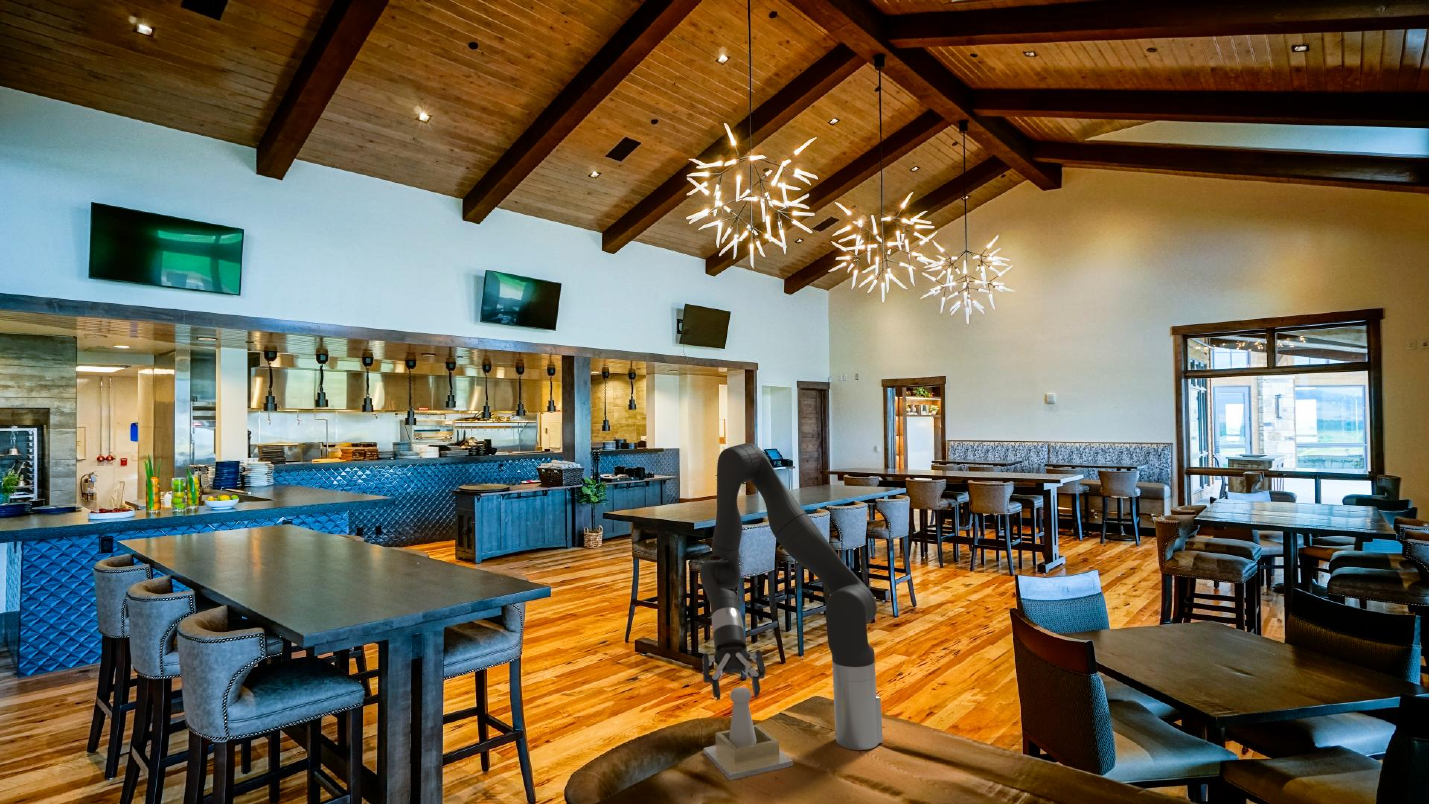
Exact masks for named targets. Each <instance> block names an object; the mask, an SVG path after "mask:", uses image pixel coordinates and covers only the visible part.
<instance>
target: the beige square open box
mask: <svg viewBox="0 0 1429 804" xmlns="http://www.w3.org/2000/svg"><path fill="white" fill-rule="evenodd" d="M753 727H754V731H755V736H756V744H753V745H748V746H743V747H738V748H736V747H735V746H734V745H733V744H732V743H731V742H730V741H729V734H730V729H728V730H723V731H718V732H715V734H714V735H715V745H712V746H707V747H704V748H703V753H704V752H705V753H704V754H706V755H707V756H706V755H705V756H706V757H707V758H708V759H709V760H710V761H711V762H712V763H713V764H714V765H715V766H716V767H717V769H718V770H719V771H720V772H722V774H723V775H724V776H725V777H726V779H728V780H729V781H734V780H737V779H742V778H745V777H746V776H747V777H751V776H755V775H760V774H764V773H767V772H772V771H777V770H782V769H786V768H790V767H789V766H791V767H794V760H792V759H791V758H790V757H789V756H788V755H787V754H785V753H784V752H783V751H782V750H781V749H780V740H778V739H777V738H775V737H774V735H772V734H770V733H769V732H768V731H767V730H766V729H764V728H763V727H761V726H760V725H759V724H753ZM750 775H751V776H750Z"/></svg>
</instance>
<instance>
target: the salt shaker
mask: <svg viewBox="0 0 1429 804" xmlns="http://www.w3.org/2000/svg"><path fill="white" fill-rule="evenodd" d="M751 699H752V692H751V690H750V689H749V688H747V687H744V686H743V687H742V686H739V687H735V688H733V689H732V690H731V691H730V700H731V701H732V702H733V705H732V712H731V719H730V727H729V728H730V729H729V730H730V734H729V741H730V742H731V743H732V744H733V745H734V746H735V747H736V748H738V747H743V746H748V745H753V744H756V736H755V731H754V727H753V725H754V722H753V719H752V714H751V710H750V704H749V702H750V701H751Z"/></svg>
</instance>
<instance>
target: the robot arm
mask: <svg viewBox="0 0 1429 804" xmlns="http://www.w3.org/2000/svg"><path fill="white" fill-rule="evenodd" d="M716 464H717V465H716V515H715V516H716V517H715V524H714V530H713V536H712V542H711V553H712V554H713V555H714V556H715V557H717V558H719V559H722V560H706V561H705V562H703V563H702V564H701V566H700V569H699V578H700V579H699V580H700V583H701V585H702V587H703V589H704V592H705V594H706V597H707V599H708V602H709V604H710V611H711V629H712V631H711V632H712V636H713V644H714V653H715V654H713V655H711V654H710V655H709V654H708V653H703V655H702V674H703V679H702V680H703V682H704V683H708V684H710V685H711V690H712V695H713V697H714V698H716V700H717V701H720V700H721V689H720V679H721V678H722V677H723V675H724V673H726V674H727V675H731V674H741V673H743V674H744V675H745V676H746V677H748V678H749V679H750V680H751V685H752V692H753V697H754V698H758V696H759V695H760V692H761V684H760V679H765V678H766V677H765V675H766V672H767V671H766V666H765V662H764V659H763V658H764V657H763V655H762V651H761V650H760V649H756V651H754V652H749V650H748V648H747V642H746V634H745V630H744V623H743V618H742V615H741V610H740V605H739V598H738V595H737V594H736V593H735V591H733V589H735V588H737V587H738V585H739V584H740V582H741V578H742V577H741V575H742V574H741V567H740V560H739V559H740V558H739V557H740V555H739V554H740V553H739V552H740V545H741V539H742V534H743V520H742V517H741V513H740V510H739V507H738V506H739V505H738V495H739V492H740V488H741V486H742V484H743V483H747V482H750V483H751V484H752V485H753V486H754V487H755V488H756V490H757V491H758V493H759V494H760V495H761V497H762V499H763V501H764V504H765V505H764V506H765V509H766V514H767V521H768V525H769V528H770V530H771V532H772V535H773V536H774V538H776V540H777V542H778V543H779V544H780V545H781V547H782V548H783V549H784V551H785V553H787V554H788V555H789V556H790V557H791V558H792V559H793V560H794V561H796V562H797V563H798V564H799V565H801V566H802V567H803V568H804V569H806V570H808V571H809V572H810V573H811V574H813V575H814V576H816V578H818V579H819V580H820V582H821V583H822V584H823V586H825V588H826V589H827V591H828V593H829V594H830V595H829V596H828V598H827V600H826V605H825V620H826V621H825V624H826V636H827V644H828V645H827V646H828V649H829V650H830V653H831V663H832V683H833V685H832V687H833V707H834V708H833V709H834V710H833V711H834V728H835V730H834V731H835V742H836V744H837V745H839V746H840V747H843V748H845V749H848V750H854V751H855V750H856V751H863V750H864V751H865V750H870V749H873V748H876V747H877V746H879V744H881V743H883V742H884V741H883V739H884V738H883V737H884V736H883V721H882V720H883V718H882V703H881V701H882V699H881V697H880V696H879V695H877V679H876V678H877V676H876V663H875V662H876V659H875V655H876V654H875V649H874V648H873V646H872V645H870V644H869V640H868V639H869V638H868V629H867V628H868V627H867V624H869V623H871V622H872V621H873V620H874V619H875V617H876V614H877V611H878V606H877V601H876V597H875V596H874V594H873V592H872V591H871V590H870V589H869V588H868V587H867V586H866V584H865V583H864V582H863V581H862V580H861V579H860V578H859V577H858V576H857V575H856V574H855V572H853V571H852V570H851V568H850V567H849V566H847V564H846V563H845V561H843V560H842V558H841V557H840V556H839V555H838V553H837V552H836V550H835V549H834V548H833V546H832V545H831V543H829V541H828V540H827V539H826V537H825V536H824V534H823V533H822V532H821V531H820V529H819V528H818V526H817V525H816V524H815V522H814V521H813V520H812V519H811V517H810V516H809V515H808V513H807V512H806V511H805V510H804V509H803V507H802V506H801V505H800V504H799V503H798V502H797V500H796V499H795V497H794V496H793V494H792V493H791V492H790V490H789V489H788V488H787V486H786V484H784V482H783V480H782V479H781V478H780V476H779V475H778V473H777V471H776V470H775V468H774V467H773V466H772V463H771V462H770V460H769V458H768V457H767V455H766V454H765V452H763V450H762V449H761V448H760V447H759V446H758V445H756V444H755V443H751V442H745V443H741V444H738V445H734V446H729V447H727V448H725V449H723V450H722V451H721V452H720V454H719V455H718V459H717V463H716ZM750 659H751V660H752V661H753V663H755V664H756V668H757V669H756V670H755V668H754V667H753V665H752V664H751V663H750ZM713 662H714V664H716V666H717V668H716V669H715V671H714V673H713V674H710V666H712V664H713Z"/></svg>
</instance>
